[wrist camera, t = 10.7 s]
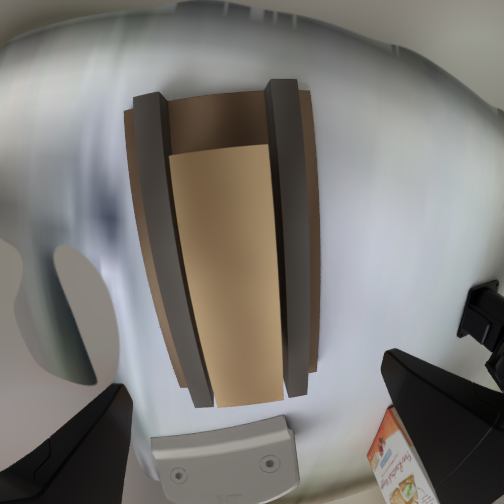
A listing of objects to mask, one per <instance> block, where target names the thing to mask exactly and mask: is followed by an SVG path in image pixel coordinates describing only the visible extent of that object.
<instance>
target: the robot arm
mask: <svg viewBox="0 0 504 504" xmlns="http://www.w3.org/2000/svg"><path fill="white" fill-rule="evenodd" d="M498 286H499V281H498V280H494V281H491V282H489V283H486V284H483V285H480V286H478V287H475V288H472V289H471V290H470V291H469V294H468V298H467V302H466V306H465V310H464V313H463V317H462V320H461V324H460V327H459V330H458V333H457V337H459V338H462V337H464V336H466V335H468V334H469V335H471V336H472V337H473V338H474V339H475V340H476V341H478V342H479V343H480V344H481V345H482V344H483V345H484V346H485V347H486V348H487V349H488V350H489V351H490V352H493V353H492V355H491V357H490V358H489V360H488V361H487V362H486V364H485V367H486V368H487V369H488V372H489V373H490V375H491V376H492V378H493V379H494V380H495V382H496V383H497V385H498V386H499V388H500V389H501V391H502V392H503V393H501V392H497V391H494V390H491V389H489V388H486V387H484V386H481V385H479V384H476V383H474V382H473V383H472V382H471V381H469V380H467V379H464V378H462V377H460V376H457V375H455V374H453V373H451V372H448V371H446V370H444V369H441V368H439V367H437V366H435V365H432V364H430V363H428V362H426V361H423V360H421V359H419V358H417V357H415V356H412V355H410V354H408V353H406V352H404V351H401V350H399V349H397V348H393V349H390V350H387V351H385V353H384V356H383V361H382V365H381V374H382V377H383V379H384V382H385V384H386V387H387V389H388V392H389V395H390V397H391V400H392V402H393V405H394V407H395V409H396V411H397V413H398V415H399V417H400V419H401V421H402V423H403V425H404V427H405V429H406V431H407V433H408V435H409V437H410V439H411V441H412V443H413V445H414V447H415V449H416V451H417V453H418V455H419V457H420V459H421V462H422V464H423V466H424V468H425V470H426V472H427V474H428V477H429V479H430V481H431V483H432V486H433V488H434V490H435V493H436V495H437V497H438V500H439V502H440V504H504V297H503V296H502V295H500V294H499V293H497V290H498ZM132 412H133V401H132V398H131V396H130V394H129V392H128V390H127V388H126V387H125V385H124V384H122V383H113V384H111V385H110V386H109V387H108V388H106V389H105V390H104V391H103V392H102V393H101V394H99V395H98V396H97V397H96V398H95V399H94V400H93V401H91V402H90V403H89V404H88V405H87V406H86V407H84V408H83V409H82V410H81V411H80V412H78V413H77V414H76V415H75V416H74V417H73V418H71V419H70V420H69V421H68V422H67V423H66V424H64V425H63V426H62V427H61V428H60V429H59V430H57V431H56V432H55V433H54V434H53V435H51V436H50V438H48V439H47V440H45V441H44V442H43V443H42V444H41V445H39V446H38V447H37V448H36V449H34V450H33V451H32V452H30V453H29V454H27V455H26V456H25V457H23V458H22V459H20V460H19V461H17V462H16V463H14V464H13V465H11V466H9V467H8V468H6V469H5V470H3V471H1V472H0V504H121V502H122V494H123V486H124V478H125V471H126V465H127V459H128V452H129V447H130V439H131V425H132Z"/></svg>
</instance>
